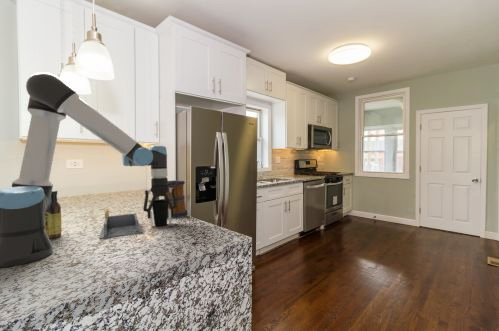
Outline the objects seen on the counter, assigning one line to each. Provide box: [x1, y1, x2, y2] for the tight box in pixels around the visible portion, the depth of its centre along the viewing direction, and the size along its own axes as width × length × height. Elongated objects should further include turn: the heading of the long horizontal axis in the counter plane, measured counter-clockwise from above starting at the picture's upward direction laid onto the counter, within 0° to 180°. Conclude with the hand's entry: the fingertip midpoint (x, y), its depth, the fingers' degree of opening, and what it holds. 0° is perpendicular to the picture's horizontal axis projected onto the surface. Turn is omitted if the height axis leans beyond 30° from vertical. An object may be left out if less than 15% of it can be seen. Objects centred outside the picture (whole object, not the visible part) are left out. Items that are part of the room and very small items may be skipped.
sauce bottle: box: [45, 189, 63, 239], centre depth 102 cm, size 7×6×20 cm
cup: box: [152, 199, 168, 228], centre depth 117 cm, size 8×8×12 cm
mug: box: [151, 179, 189, 219], centre depth 137 cm, size 19×14×20 cm
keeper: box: [99, 208, 143, 240], centre depth 109 cm, size 18×16×9 cm
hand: (160, 223), depth 117 cm, fingers open, 8 cm apart
